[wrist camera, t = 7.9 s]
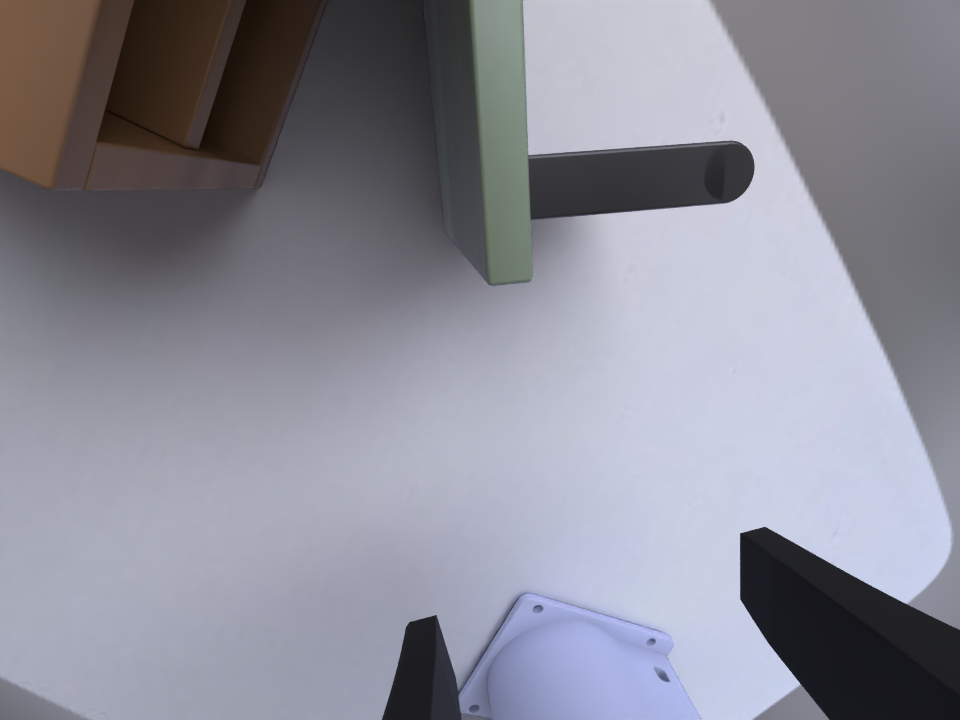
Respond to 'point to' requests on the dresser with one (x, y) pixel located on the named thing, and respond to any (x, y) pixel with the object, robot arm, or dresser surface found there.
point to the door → (544, 177)
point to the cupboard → (148, 90)
